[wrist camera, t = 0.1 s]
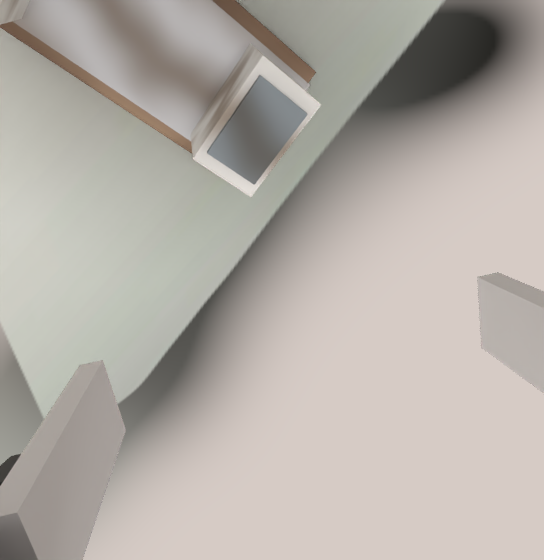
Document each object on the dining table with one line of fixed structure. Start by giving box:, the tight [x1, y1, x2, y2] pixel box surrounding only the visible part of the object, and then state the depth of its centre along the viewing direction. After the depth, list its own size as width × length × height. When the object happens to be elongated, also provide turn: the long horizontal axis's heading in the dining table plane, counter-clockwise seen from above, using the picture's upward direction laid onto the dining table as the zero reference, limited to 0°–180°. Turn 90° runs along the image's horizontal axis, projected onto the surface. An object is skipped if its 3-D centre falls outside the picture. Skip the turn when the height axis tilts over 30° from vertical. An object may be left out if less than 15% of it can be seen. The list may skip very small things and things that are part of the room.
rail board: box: [0, 0, 321, 197], centre depth 29 cm, size 11×24×9 cm, turn 52°
